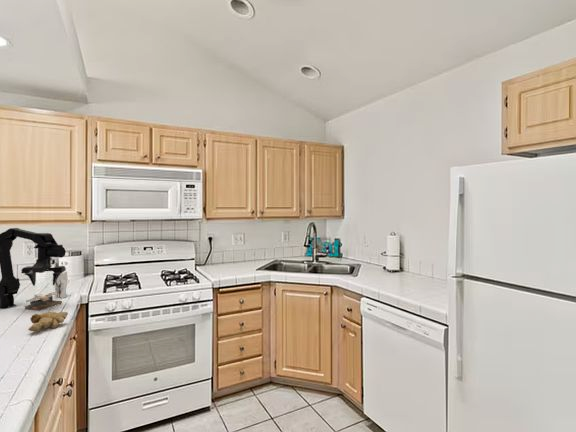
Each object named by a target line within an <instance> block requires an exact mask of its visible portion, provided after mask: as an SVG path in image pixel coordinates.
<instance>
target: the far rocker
mask: <svg viewBox="0 0 576 432" xmlns="http://www.w3.org/2000/svg"><path fill="white" fill-rule="evenodd" d="M55 294H57V293H56V292H55V291H53V292H50V293H48V294H43V295H44V296H47V297H50V296H55Z"/></svg>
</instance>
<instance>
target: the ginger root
mask: <svg viewBox="0 0 576 432" xmlns="http://www.w3.org/2000/svg"><path fill="white" fill-rule="evenodd" d="M68 314H69V312H68V311H60V312H56V311H48V312H42V313H34V314H32V315H31V317H30V322H31V323H32V325H31V326H30V327H29V328H28V331H30V332H38V331H41V330H44V329H48V328H49V327H50V328H51V329H55V328H58V327H59V324H62V323H64V321H65V320H66V319H67V317H68Z"/></svg>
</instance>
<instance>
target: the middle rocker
mask: <svg viewBox="0 0 576 432" xmlns="http://www.w3.org/2000/svg"><path fill="white" fill-rule="evenodd" d="M44 295H45V294H42V293H40V292H38V293H36V294H35V293H34V295H33V298H34V297H37V296H41V298H40V300H42V301H46V300H49V297H50V296H49V297H47V296H44Z"/></svg>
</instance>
